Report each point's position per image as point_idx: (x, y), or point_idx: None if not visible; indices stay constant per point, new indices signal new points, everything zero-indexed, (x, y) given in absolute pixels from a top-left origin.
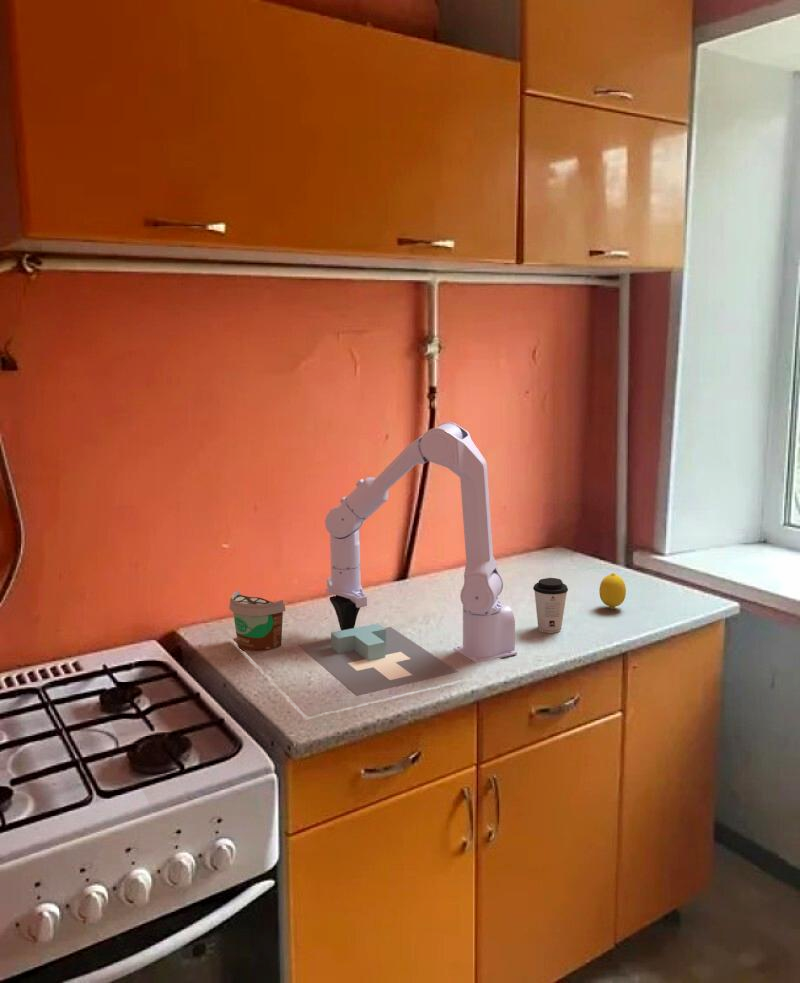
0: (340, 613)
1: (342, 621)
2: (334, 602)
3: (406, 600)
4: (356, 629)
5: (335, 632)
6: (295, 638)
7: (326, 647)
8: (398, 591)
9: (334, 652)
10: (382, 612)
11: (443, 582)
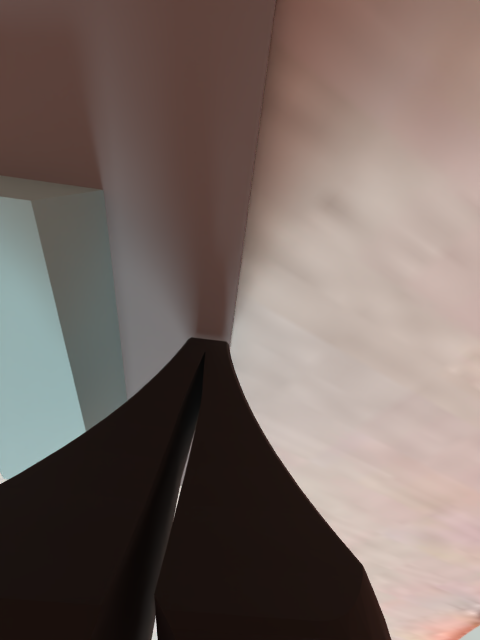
0: (112, 433)
1: (149, 381)
2: (80, 594)
3: (373, 573)
4: (44, 386)
5: (21, 239)
6: (459, 78)
7: (116, 159)
8: (440, 586)
9: (5, 156)
10: (355, 519)
11: (389, 629)
